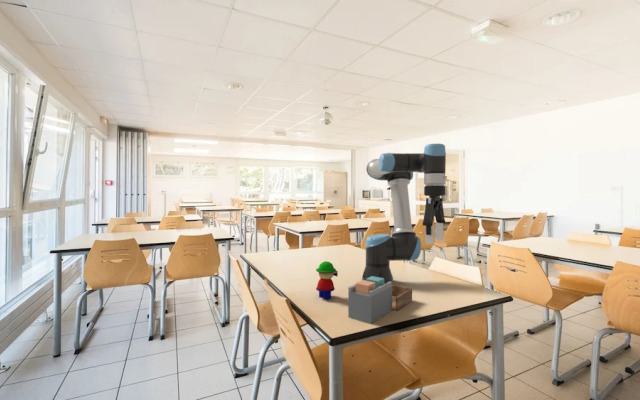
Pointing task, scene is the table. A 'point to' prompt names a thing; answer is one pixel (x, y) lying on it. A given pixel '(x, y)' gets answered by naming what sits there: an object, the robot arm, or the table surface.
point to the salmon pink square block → (365, 286)
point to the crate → (400, 297)
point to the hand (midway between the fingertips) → (434, 241)
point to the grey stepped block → (370, 303)
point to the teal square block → (376, 281)
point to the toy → (326, 279)
